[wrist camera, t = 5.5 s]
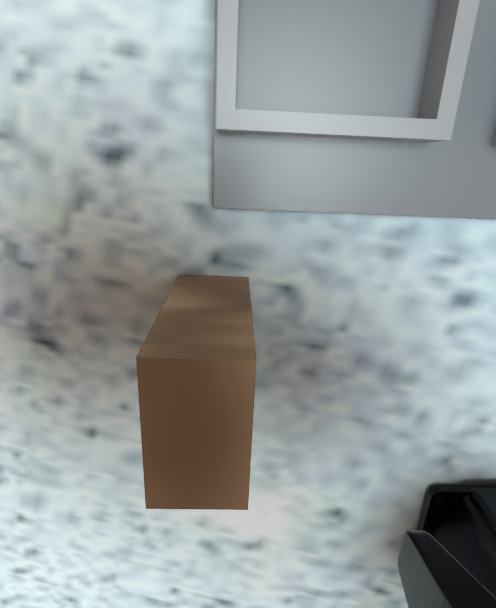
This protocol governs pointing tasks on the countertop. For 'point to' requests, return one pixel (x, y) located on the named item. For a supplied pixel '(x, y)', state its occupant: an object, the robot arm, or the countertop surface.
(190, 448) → the billet
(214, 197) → the grey socket board
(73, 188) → the countertop surface
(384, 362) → the countertop surface
